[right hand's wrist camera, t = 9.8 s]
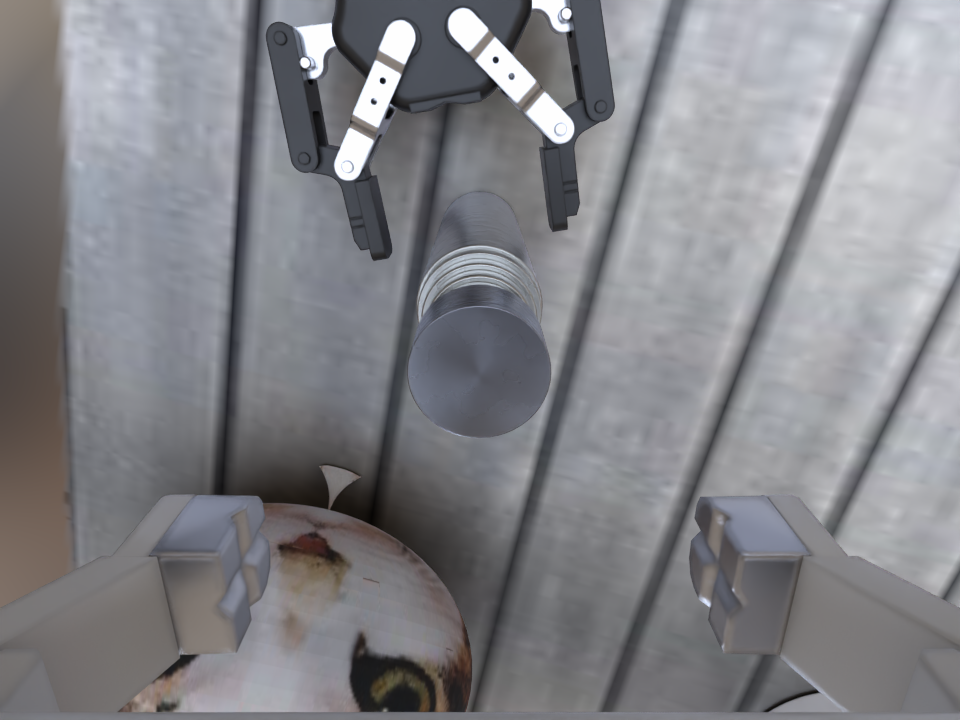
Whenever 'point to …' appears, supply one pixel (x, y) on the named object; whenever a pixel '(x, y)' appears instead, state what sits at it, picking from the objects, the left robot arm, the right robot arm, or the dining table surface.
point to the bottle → (479, 253)
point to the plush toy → (331, 628)
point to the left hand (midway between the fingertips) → (470, 242)
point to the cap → (479, 362)
